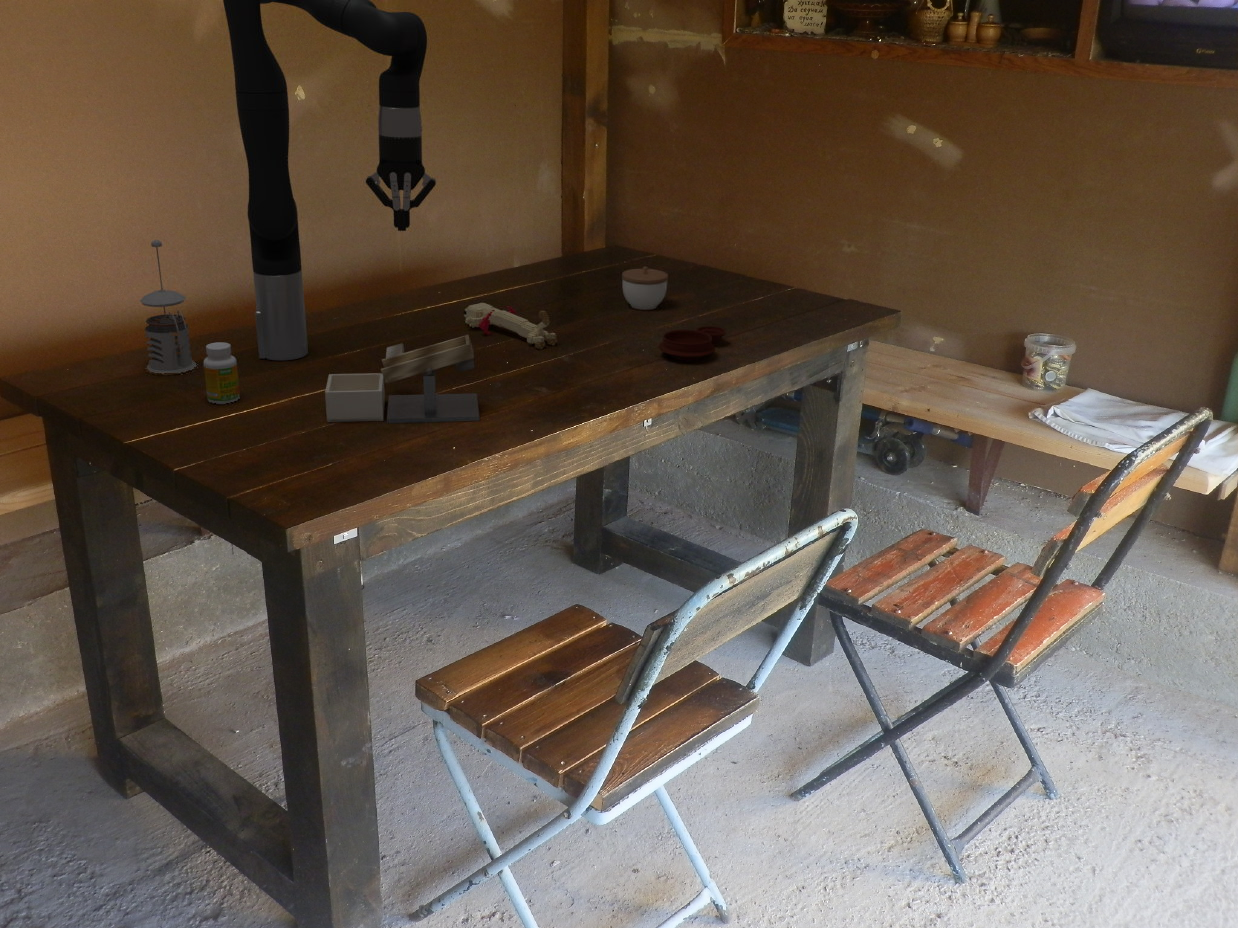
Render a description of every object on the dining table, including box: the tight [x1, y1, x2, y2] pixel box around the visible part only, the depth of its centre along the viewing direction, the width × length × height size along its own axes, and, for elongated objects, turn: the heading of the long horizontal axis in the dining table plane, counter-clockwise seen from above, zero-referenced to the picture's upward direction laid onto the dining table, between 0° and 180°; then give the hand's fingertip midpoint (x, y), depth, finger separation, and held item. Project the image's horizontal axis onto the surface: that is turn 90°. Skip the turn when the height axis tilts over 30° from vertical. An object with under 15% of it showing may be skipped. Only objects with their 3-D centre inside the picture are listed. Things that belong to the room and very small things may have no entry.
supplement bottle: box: [203, 342, 241, 405], centre depth 216 cm, size 6×6×10 cm
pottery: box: [658, 325, 727, 362], centre depth 252 cm, size 12×20×4 cm, turn 149°
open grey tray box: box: [324, 372, 386, 423], centre depth 213 cm, size 10×10×6 cm
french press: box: [139, 239, 198, 374], centre depth 228 cm, size 10×12×25 cm
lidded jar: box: [621, 266, 669, 311], centre depth 281 cm, size 11×11×9 cm
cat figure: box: [463, 302, 558, 350], centre depth 258 cm, size 10×9×25 cm
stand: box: [386, 369, 480, 424], centre depth 215 cm, size 16×12×8 cm
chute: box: [380, 334, 475, 384], centre depth 216 cm, size 16×15×4 cm
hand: (402, 230), depth 219 cm, fingers closed
